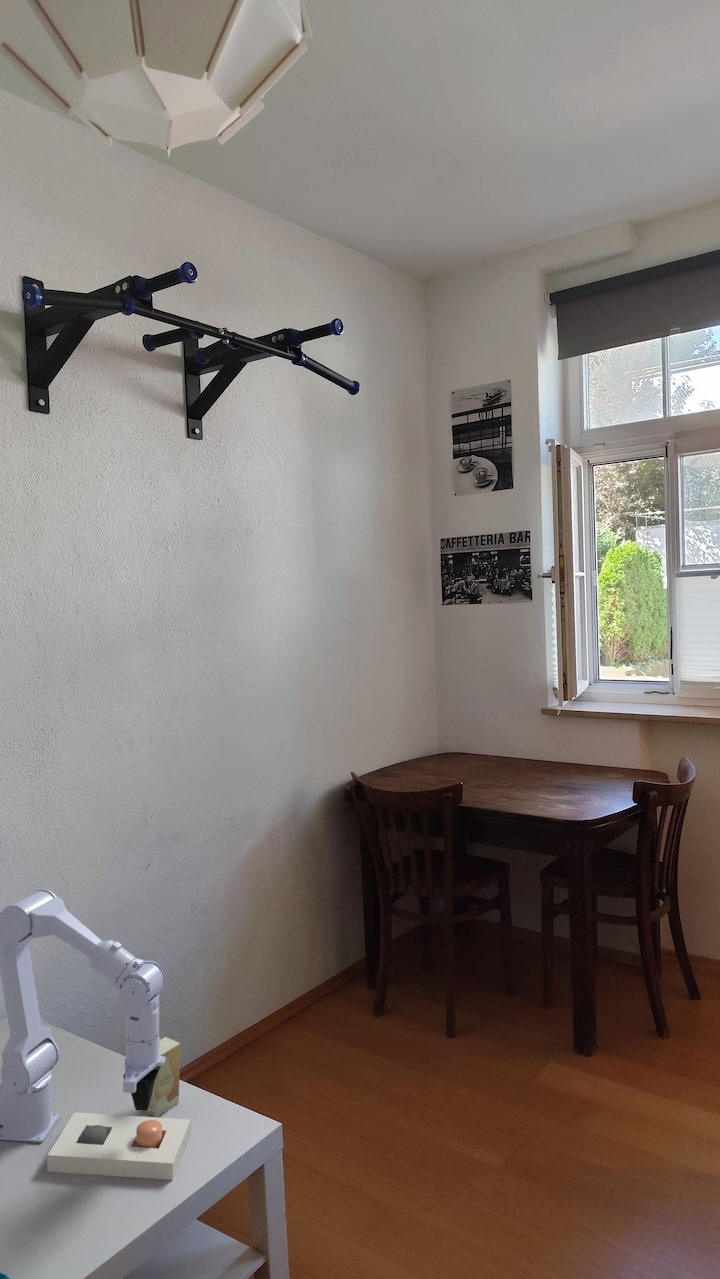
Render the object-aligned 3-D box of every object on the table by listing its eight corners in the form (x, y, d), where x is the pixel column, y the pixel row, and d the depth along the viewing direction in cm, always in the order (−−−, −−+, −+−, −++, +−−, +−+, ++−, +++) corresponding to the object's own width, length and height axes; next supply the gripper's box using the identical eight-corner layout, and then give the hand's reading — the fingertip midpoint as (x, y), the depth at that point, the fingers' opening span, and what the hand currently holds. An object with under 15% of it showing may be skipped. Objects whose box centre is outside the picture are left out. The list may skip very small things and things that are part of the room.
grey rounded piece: (77, 1156, 151) (77, 1140, 151) (86, 1140, 156) (86, 1124, 156) (101, 1157, 151) (101, 1141, 151) (110, 1141, 156) (110, 1125, 155)
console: (47, 1171, 148) (47, 1154, 148) (74, 1127, 160) (74, 1112, 160) (172, 1180, 147) (172, 1163, 146) (190, 1135, 159) (190, 1119, 158)
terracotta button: (132, 1151, 151) (133, 1134, 150) (140, 1135, 155) (140, 1119, 155) (157, 1152, 150) (157, 1136, 150) (164, 1136, 155) (164, 1120, 155)
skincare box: (156, 1118, 163) (157, 1057, 162) (140, 1110, 165) (141, 1049, 165) (180, 1102, 169) (181, 1042, 168) (164, 1094, 171) (165, 1035, 170)
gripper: (152, 1058, 144) (151, 1135, 145) (176, 1015, 158) (175, 1085, 159) (111, 1055, 144) (111, 1133, 145) (138, 1013, 159) (138, 1083, 160)
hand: (142, 1108), depth 152 cm, fingers closed
